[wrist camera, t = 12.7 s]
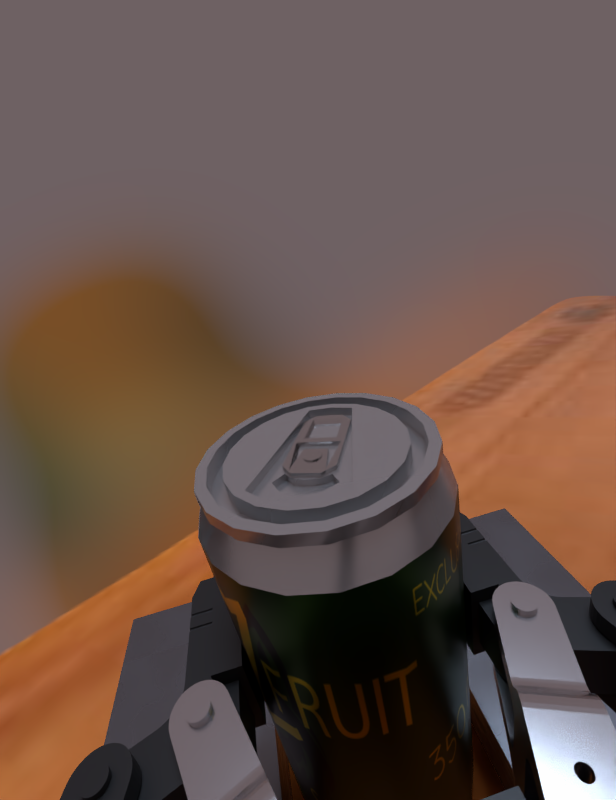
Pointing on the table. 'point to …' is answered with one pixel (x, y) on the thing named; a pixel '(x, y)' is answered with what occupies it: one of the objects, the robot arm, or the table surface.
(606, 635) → the robot arm
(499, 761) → the keyhole plate
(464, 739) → the green drink can
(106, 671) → the table surface
